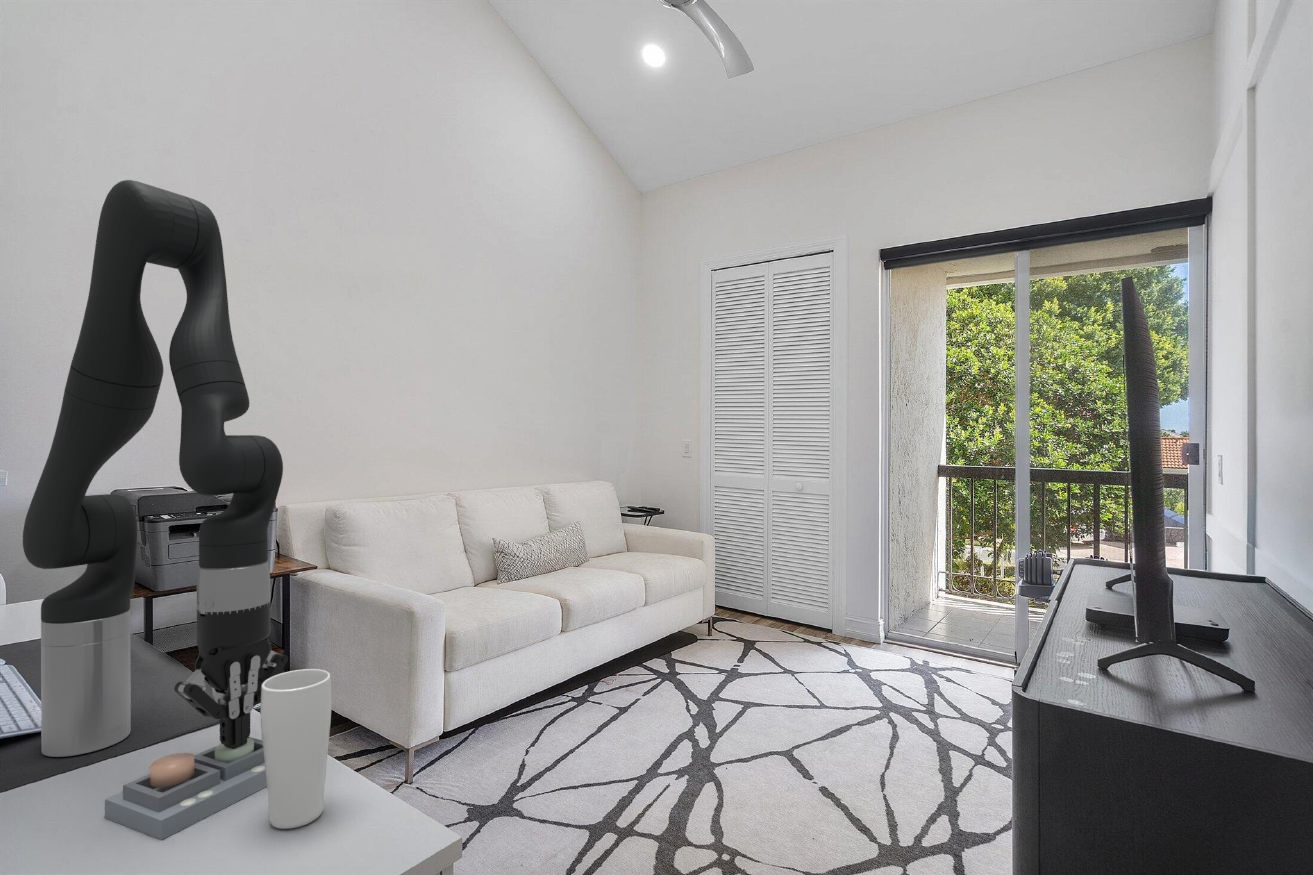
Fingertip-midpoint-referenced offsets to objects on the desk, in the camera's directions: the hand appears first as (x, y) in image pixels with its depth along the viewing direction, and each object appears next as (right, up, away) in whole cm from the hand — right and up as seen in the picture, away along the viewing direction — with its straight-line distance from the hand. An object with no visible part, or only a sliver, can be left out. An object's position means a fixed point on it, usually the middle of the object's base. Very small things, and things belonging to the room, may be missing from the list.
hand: (235, 745), depth 81 cm
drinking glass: (+12, -4, -8) cm, 15 cm away
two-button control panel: (-2, -4, -3) cm, 5 cm away
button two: (-3, -1, -6) cm, 7 cm away
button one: (0, -2, 0) cm, 2 cm away
